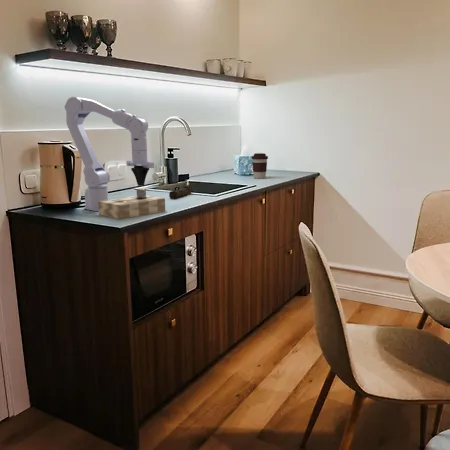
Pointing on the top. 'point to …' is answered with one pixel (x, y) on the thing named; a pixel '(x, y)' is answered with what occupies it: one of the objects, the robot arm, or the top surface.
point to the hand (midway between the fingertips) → (141, 185)
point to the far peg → (141, 194)
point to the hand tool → (180, 192)
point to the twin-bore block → (131, 206)
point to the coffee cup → (259, 165)
